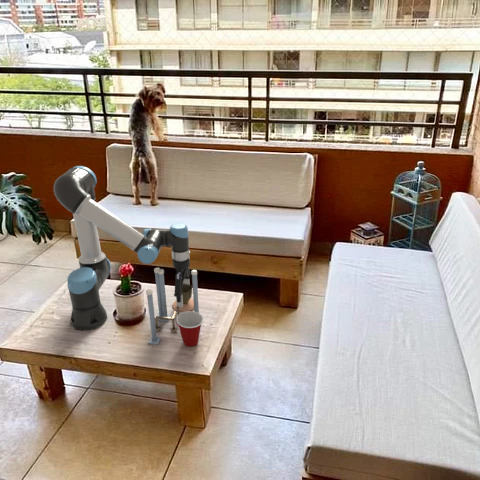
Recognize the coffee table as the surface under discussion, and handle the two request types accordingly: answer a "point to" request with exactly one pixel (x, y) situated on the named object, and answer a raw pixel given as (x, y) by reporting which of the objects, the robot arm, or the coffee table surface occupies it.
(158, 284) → the gate
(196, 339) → the plastic cup
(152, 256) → the robot arm
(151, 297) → the gate
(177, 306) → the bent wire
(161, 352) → the coffee table surface
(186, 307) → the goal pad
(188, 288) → the ornate lamp shade
